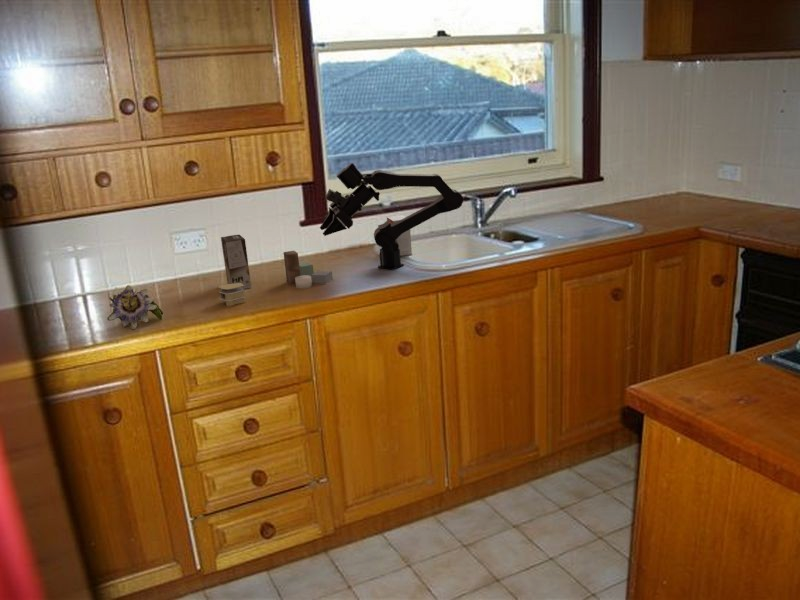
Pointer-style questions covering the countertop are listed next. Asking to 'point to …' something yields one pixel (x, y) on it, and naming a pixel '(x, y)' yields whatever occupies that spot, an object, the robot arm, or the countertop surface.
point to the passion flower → (133, 307)
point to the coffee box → (236, 260)
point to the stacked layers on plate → (232, 293)
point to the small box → (402, 237)
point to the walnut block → (291, 266)
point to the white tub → (303, 281)
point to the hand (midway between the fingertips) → (322, 231)
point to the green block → (306, 268)
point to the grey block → (322, 277)
